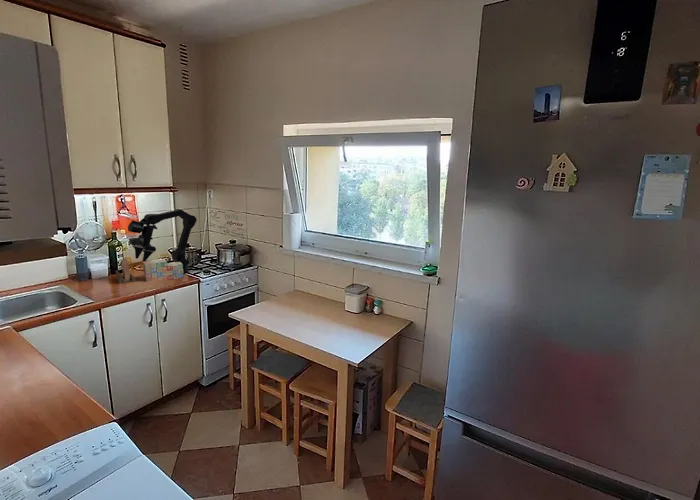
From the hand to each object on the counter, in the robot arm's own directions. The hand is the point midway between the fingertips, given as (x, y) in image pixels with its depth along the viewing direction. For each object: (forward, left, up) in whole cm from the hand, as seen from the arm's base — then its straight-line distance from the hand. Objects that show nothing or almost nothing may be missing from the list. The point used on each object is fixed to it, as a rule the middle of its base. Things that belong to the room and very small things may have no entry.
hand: (140, 260), depth 224 cm
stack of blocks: (-11, +6, -14) cm, 19 cm away
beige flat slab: (+4, -8, -13) cm, 16 cm away
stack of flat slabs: (+4, -8, -14) cm, 16 cm away
